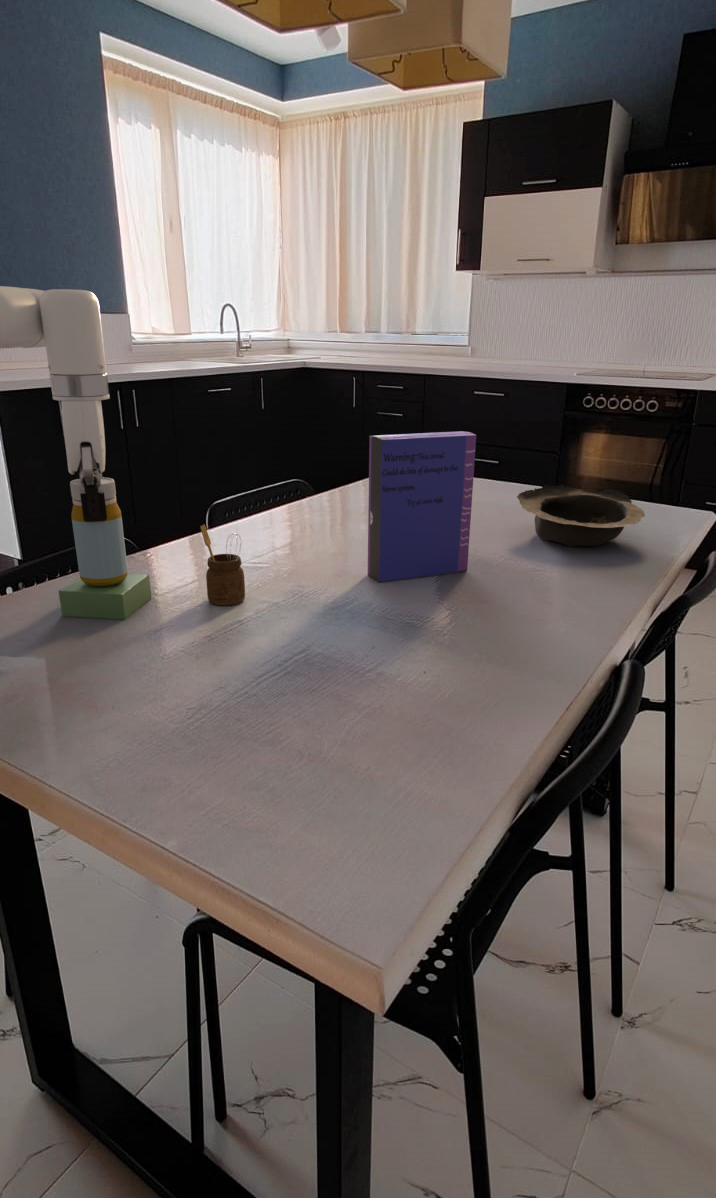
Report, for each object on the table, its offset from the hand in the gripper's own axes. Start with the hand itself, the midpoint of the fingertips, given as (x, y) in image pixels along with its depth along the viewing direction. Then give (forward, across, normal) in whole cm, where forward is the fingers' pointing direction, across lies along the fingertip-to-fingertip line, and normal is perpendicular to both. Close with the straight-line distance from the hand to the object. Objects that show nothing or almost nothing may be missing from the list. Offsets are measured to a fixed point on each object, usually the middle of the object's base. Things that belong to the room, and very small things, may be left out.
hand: (96, 513), depth 114 cm
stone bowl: (+15, -18, +94) cm, 96 cm away
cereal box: (+15, -4, +53) cm, 55 cm away
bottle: (+10, 0, 0) cm, 10 cm away
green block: (+15, 0, 0) cm, 15 cm away
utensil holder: (+15, +2, +18) cm, 23 cm away
